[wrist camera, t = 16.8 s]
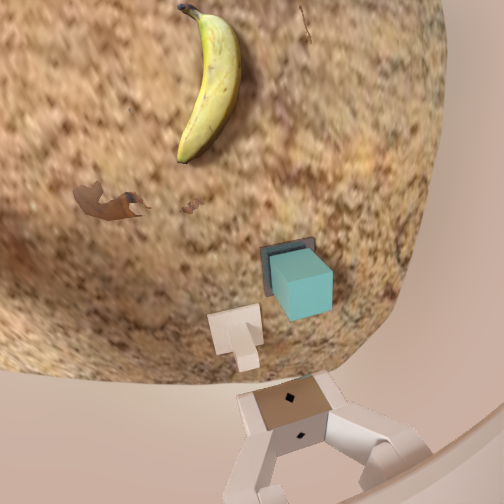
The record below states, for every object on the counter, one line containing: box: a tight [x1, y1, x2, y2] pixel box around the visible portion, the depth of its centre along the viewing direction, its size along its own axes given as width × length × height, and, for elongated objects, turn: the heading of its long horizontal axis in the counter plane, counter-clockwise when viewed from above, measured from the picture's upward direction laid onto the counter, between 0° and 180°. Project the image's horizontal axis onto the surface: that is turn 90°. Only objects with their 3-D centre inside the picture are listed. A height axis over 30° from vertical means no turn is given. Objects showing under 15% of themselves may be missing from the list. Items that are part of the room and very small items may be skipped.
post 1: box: [207, 303, 264, 372], centre depth 41 cm, size 7×7×7 cm
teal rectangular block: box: [270, 248, 333, 321], centre depth 38 cm, size 5×5×7 cm
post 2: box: [260, 237, 314, 297], centre depth 39 cm, size 7×7×7 cm
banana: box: [73, 4, 312, 221], centre depth 29 cm, size 35×27×4 cm
